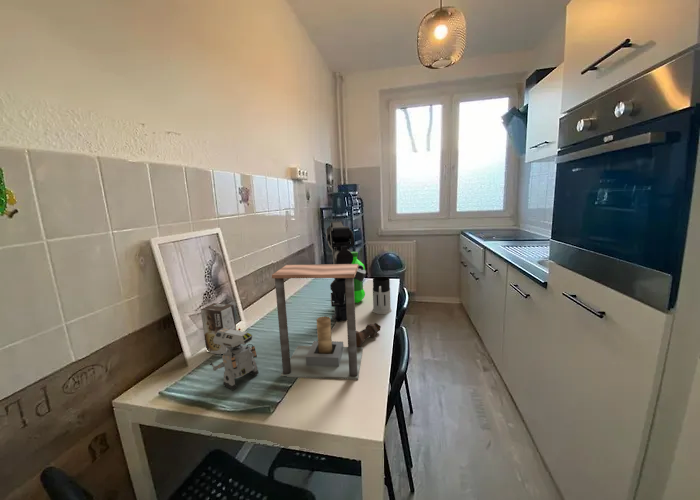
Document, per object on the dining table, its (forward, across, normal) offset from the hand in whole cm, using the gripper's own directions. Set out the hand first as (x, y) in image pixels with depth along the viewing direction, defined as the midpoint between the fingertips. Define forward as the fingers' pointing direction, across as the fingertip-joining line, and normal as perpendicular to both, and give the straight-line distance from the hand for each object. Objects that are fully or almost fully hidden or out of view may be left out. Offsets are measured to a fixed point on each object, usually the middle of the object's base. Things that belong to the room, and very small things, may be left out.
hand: (344, 301), depth 110 cm
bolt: (+13, -4, -9) cm, 16 cm away
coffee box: (+13, -14, +42) cm, 46 cm away
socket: (+13, -18, +4) cm, 22 cm away
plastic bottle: (+13, +37, 0) cm, 39 cm away
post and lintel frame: (+13, -20, +4) cm, 24 cm away
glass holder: (+13, +22, -13) cm, 29 cm away
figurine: (+13, -30, +28) cm, 43 cm away
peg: (+12, -18, +4) cm, 22 cm away
